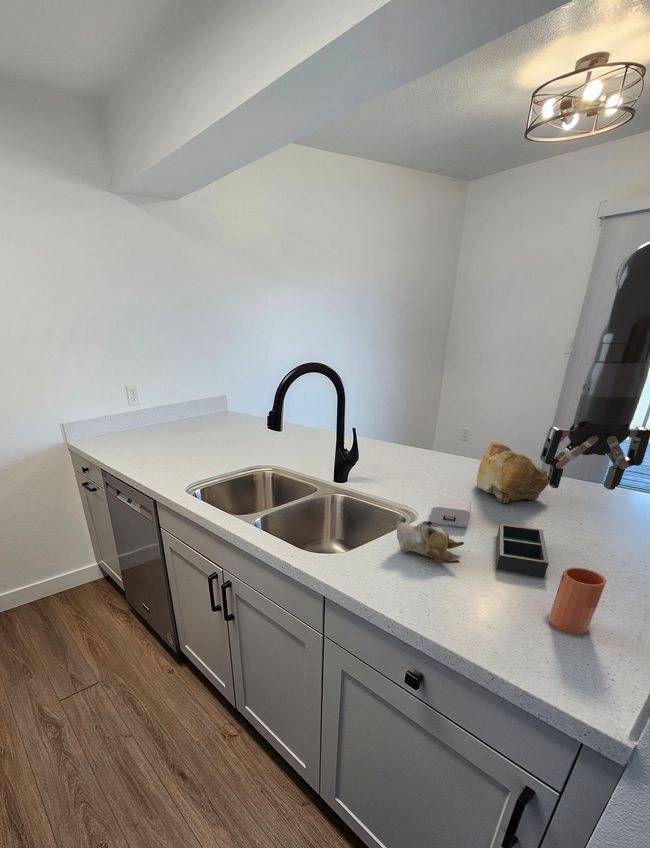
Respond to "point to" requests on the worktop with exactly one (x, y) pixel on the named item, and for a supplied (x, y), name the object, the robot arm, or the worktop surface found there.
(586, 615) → the cup
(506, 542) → the holder
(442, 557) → the ceramic sculpture
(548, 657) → the worktop surface
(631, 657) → the worktop surface
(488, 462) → the rough brown rock
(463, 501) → the charger
